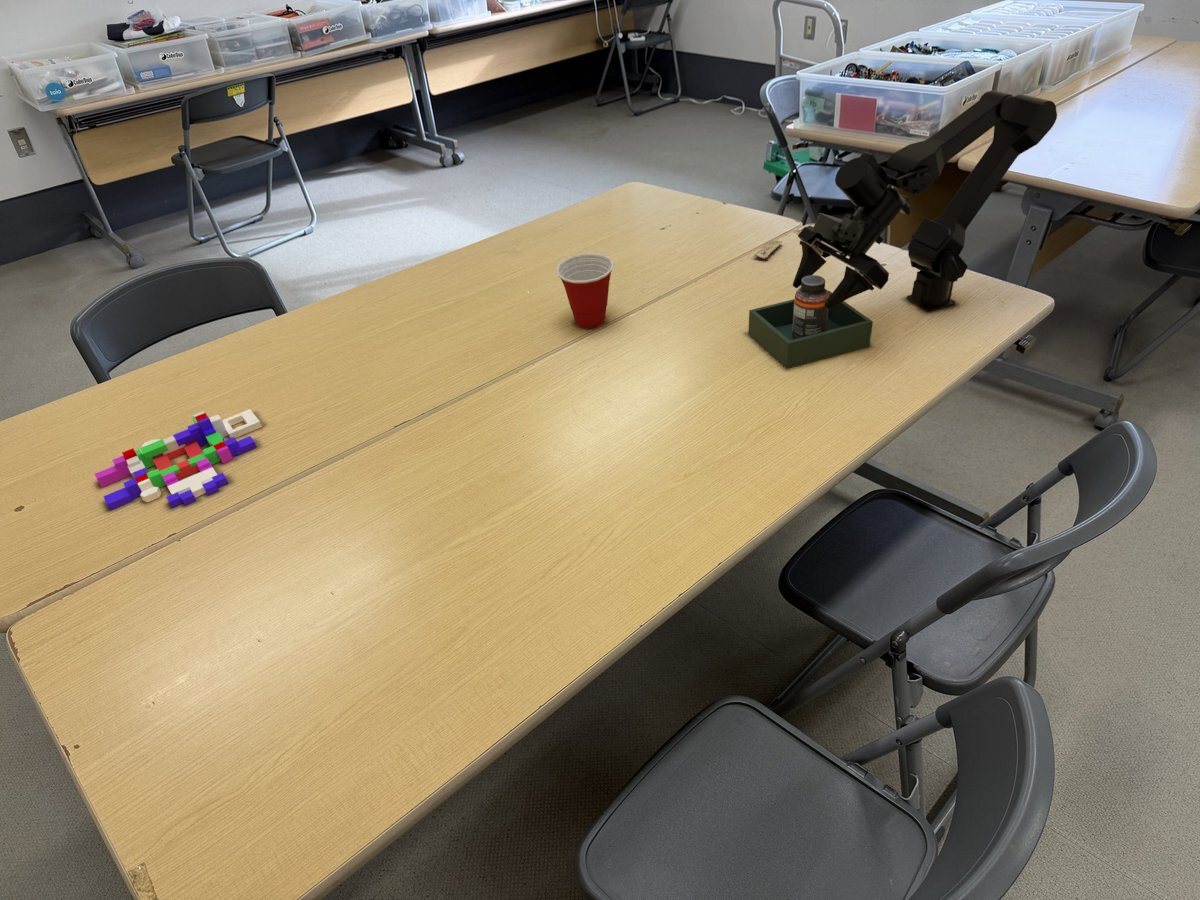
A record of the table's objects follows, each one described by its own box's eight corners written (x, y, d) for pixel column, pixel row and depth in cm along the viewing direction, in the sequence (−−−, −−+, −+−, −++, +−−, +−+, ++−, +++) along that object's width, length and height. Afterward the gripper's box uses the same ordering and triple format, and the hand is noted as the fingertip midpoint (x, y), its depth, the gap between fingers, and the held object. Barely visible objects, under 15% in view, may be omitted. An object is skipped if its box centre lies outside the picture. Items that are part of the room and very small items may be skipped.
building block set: (120, 534, 112) (106, 510, 110) (92, 468, 126) (79, 446, 123) (288, 460, 124) (279, 437, 121) (246, 407, 137) (237, 385, 135)
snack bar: (769, 240, 176) (782, 237, 174) (771, 246, 177) (783, 244, 175) (752, 255, 170) (765, 253, 168) (754, 262, 170) (767, 259, 169)
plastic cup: (553, 332, 151) (546, 274, 144) (575, 306, 159) (569, 250, 152) (605, 339, 147) (600, 280, 140) (625, 312, 155) (622, 255, 148)
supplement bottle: (816, 327, 144) (821, 269, 137) (831, 342, 139) (838, 283, 132) (785, 333, 143) (790, 275, 136) (800, 348, 138) (805, 289, 132)
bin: (826, 314, 149) (829, 290, 146) (869, 346, 138) (873, 321, 135) (748, 334, 145) (749, 310, 142) (786, 369, 134) (788, 343, 131)
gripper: (811, 179, 134) (753, 255, 138) (884, 212, 120) (818, 295, 124) (844, 214, 141) (788, 285, 145) (916, 249, 127) (853, 326, 131)
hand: (809, 296), depth 136 cm, fingers open, 9 cm apart
